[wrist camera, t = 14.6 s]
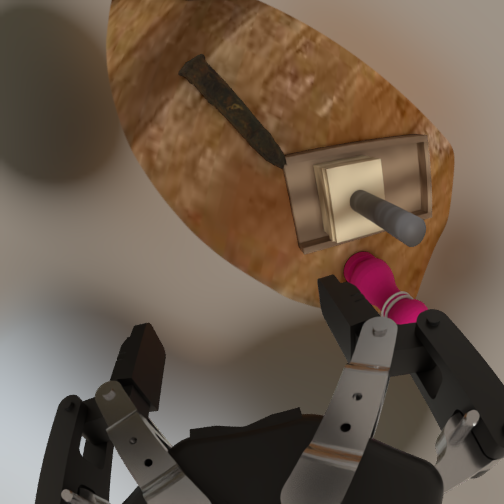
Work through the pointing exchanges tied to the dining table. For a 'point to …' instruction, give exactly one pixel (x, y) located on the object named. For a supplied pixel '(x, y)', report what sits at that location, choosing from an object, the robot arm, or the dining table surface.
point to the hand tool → (232, 108)
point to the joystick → (361, 202)
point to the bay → (394, 179)
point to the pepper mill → (381, 288)
